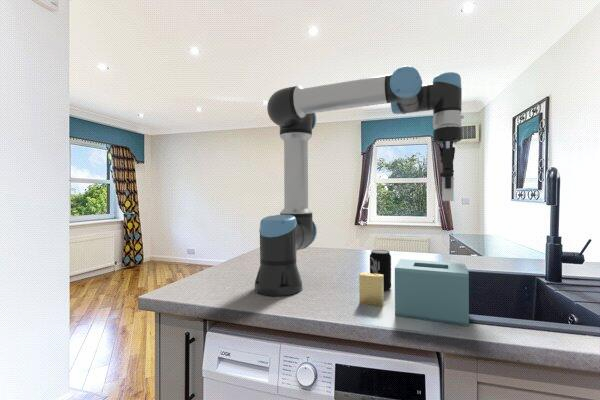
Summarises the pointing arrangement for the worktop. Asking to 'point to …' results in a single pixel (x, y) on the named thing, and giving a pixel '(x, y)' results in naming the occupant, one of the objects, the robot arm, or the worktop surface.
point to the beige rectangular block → (371, 289)
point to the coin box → (432, 291)
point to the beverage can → (381, 265)
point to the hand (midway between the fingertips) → (447, 200)
